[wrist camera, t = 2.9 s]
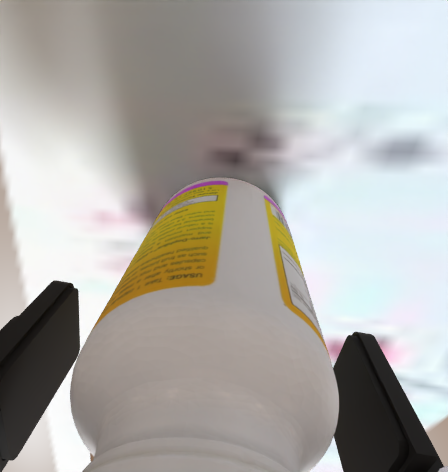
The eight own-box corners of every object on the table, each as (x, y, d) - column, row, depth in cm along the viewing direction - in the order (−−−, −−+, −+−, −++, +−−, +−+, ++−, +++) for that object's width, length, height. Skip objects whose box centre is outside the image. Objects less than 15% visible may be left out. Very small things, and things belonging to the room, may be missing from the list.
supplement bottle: (142, 263, 17) (-58, 635, 6) (184, 149, 14) (-44, 444, 3) (253, 306, 18) (271, 700, 7) (314, 207, 15) (527, 603, 4)
